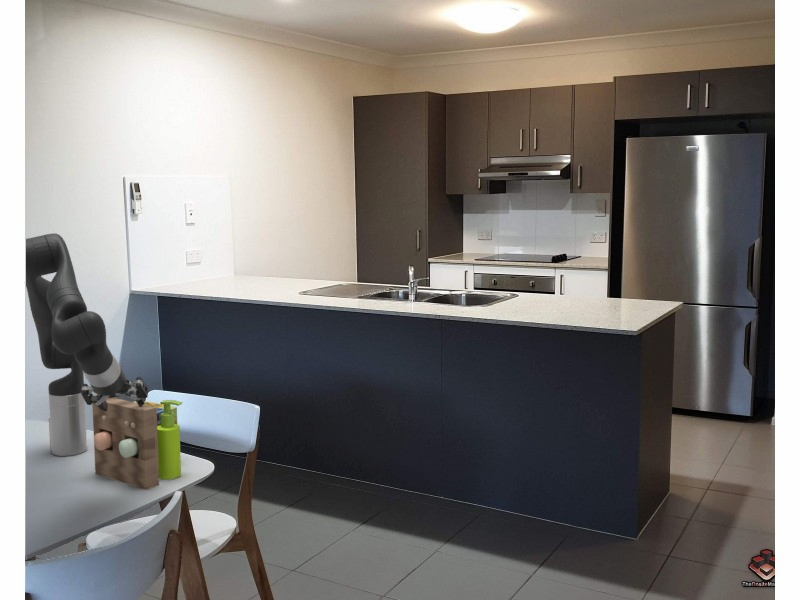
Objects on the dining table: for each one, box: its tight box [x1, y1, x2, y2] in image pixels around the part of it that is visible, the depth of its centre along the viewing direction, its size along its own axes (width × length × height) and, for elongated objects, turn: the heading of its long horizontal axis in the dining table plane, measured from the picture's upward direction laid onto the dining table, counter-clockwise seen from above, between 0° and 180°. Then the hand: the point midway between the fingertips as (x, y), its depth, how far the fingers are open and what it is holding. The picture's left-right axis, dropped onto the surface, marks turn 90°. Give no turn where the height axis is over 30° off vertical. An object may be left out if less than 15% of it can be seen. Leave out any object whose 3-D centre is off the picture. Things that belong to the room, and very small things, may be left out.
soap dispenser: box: [157, 399, 183, 481], centre depth 198 cm, size 6×7×20 cm
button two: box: [119, 437, 138, 458], centre depth 190 cm, size 4×3×4 cm
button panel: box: [92, 397, 160, 490], centre depth 195 cm, size 20×4×20 cm, turn 57°
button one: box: [93, 431, 113, 450], centre depth 196 cm, size 4×3×4 cm
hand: (123, 405), depth 188 cm, fingers open, 8 cm apart
